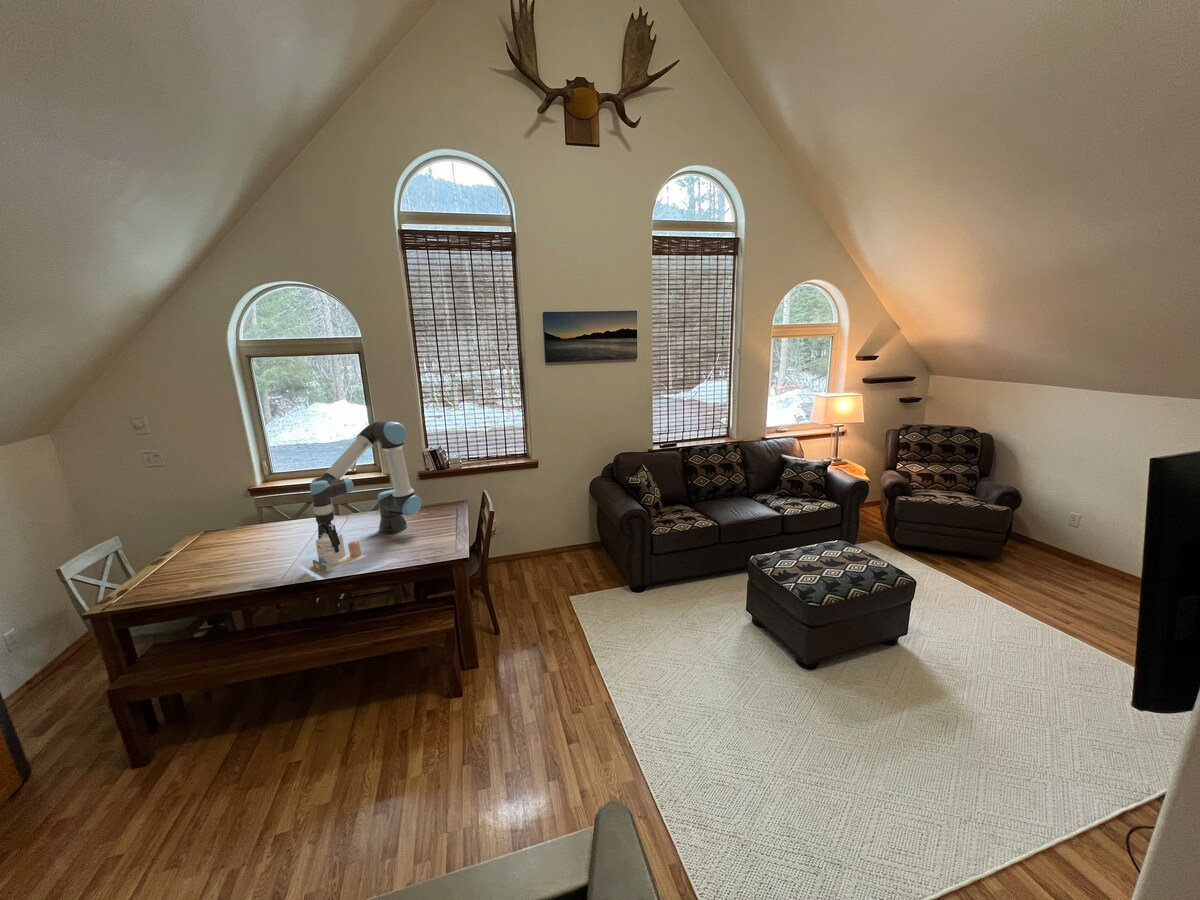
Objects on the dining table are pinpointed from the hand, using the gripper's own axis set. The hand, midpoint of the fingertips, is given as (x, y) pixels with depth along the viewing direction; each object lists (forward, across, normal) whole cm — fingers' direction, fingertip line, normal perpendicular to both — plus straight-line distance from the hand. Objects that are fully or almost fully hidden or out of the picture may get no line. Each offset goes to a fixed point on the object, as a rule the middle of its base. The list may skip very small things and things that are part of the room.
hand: (331, 555), depth 231 cm
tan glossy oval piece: (+4, +1, +10) cm, 11 cm away
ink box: (+2, 0, 0) cm, 2 cm away
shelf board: (+6, +1, +3) cm, 6 cm away
